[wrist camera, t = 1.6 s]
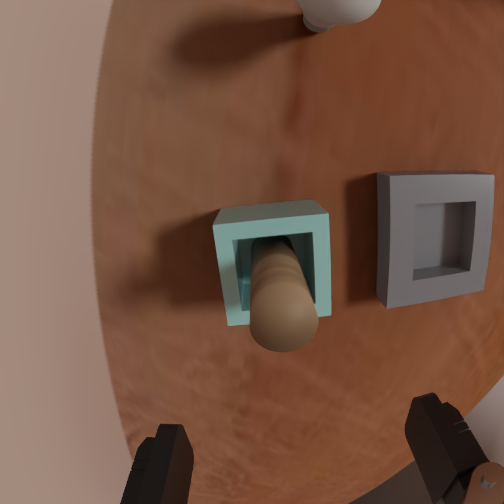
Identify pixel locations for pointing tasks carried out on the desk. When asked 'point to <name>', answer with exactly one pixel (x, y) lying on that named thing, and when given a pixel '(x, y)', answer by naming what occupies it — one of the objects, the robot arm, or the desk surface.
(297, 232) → the mint green open box
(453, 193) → the stand
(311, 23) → the lightbulb
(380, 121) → the desk surface
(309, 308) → the dowel
